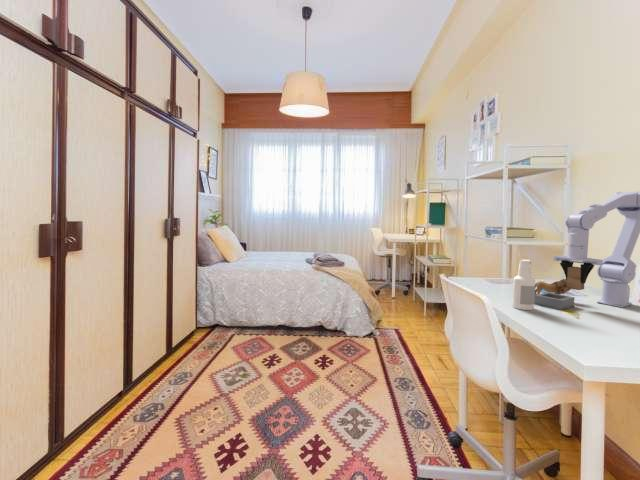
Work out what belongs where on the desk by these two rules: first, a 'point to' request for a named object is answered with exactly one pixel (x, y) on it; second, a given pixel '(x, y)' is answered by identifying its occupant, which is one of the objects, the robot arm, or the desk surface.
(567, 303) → the square well
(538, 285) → the lion figurine
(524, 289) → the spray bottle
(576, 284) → the walnut block
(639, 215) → the robot arm
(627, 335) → the desk surface
